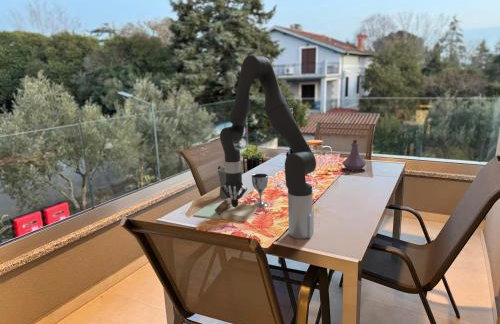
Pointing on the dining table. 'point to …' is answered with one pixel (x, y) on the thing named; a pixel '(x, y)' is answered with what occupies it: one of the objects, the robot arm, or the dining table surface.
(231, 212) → the board
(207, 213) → the mat
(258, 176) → the wine glass
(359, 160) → the flask
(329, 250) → the dining table surface
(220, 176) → the coffeepot
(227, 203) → the brown rectangular block
